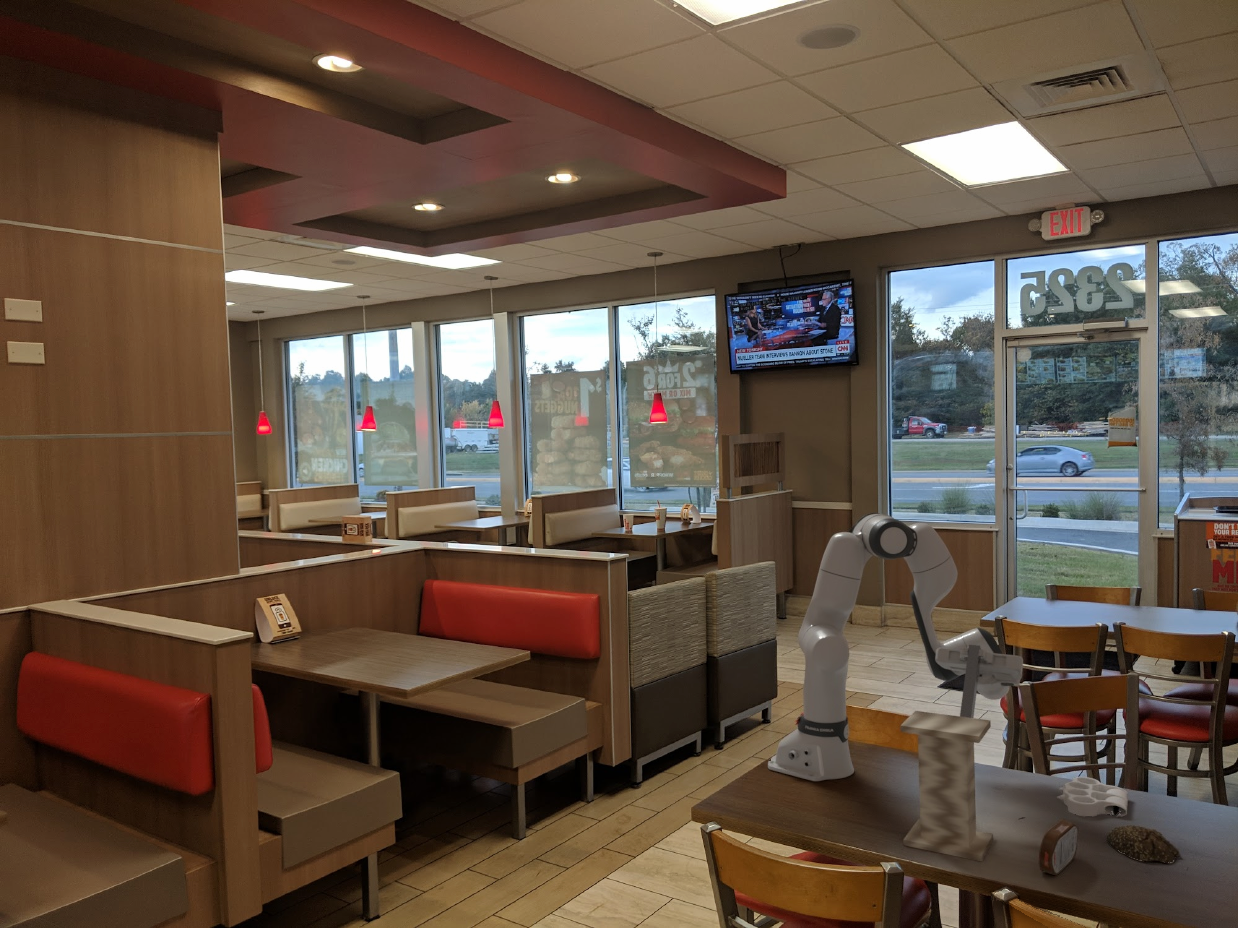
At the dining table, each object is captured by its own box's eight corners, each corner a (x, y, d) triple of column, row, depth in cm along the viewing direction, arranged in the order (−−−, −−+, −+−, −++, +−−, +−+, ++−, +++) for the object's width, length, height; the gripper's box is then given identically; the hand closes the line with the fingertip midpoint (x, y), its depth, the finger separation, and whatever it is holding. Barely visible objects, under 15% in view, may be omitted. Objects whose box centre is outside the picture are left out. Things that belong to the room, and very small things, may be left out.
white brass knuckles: (1126, 824, 204) (1054, 813, 212) (1128, 796, 220) (1061, 786, 227) (1126, 810, 204) (1053, 798, 212) (1128, 782, 220) (1060, 773, 227)
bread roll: (1099, 838, 198) (1099, 815, 198) (1157, 837, 197) (1157, 814, 197) (1130, 865, 185) (1130, 841, 185) (1193, 865, 184) (1192, 840, 184)
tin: (1065, 852, 191) (1064, 812, 191) (1081, 856, 189) (1080, 816, 189) (1037, 877, 181) (1036, 835, 181) (1053, 883, 179) (1053, 840, 178)
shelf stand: (903, 844, 197) (900, 725, 196) (918, 824, 207) (915, 710, 206) (981, 861, 188) (978, 736, 188) (993, 838, 198) (990, 720, 198)
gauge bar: (970, 745, 212) (968, 742, 210) (958, 743, 213) (956, 740, 212) (981, 649, 223) (979, 645, 221) (971, 648, 225) (969, 644, 223)
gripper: (942, 652, 238) (930, 635, 228) (1027, 661, 227) (1019, 643, 217) (940, 676, 236) (927, 659, 225) (1025, 686, 224) (1017, 669, 214)
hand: (973, 651), depth 221 cm, fingers closed on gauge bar, 2 cm apart
